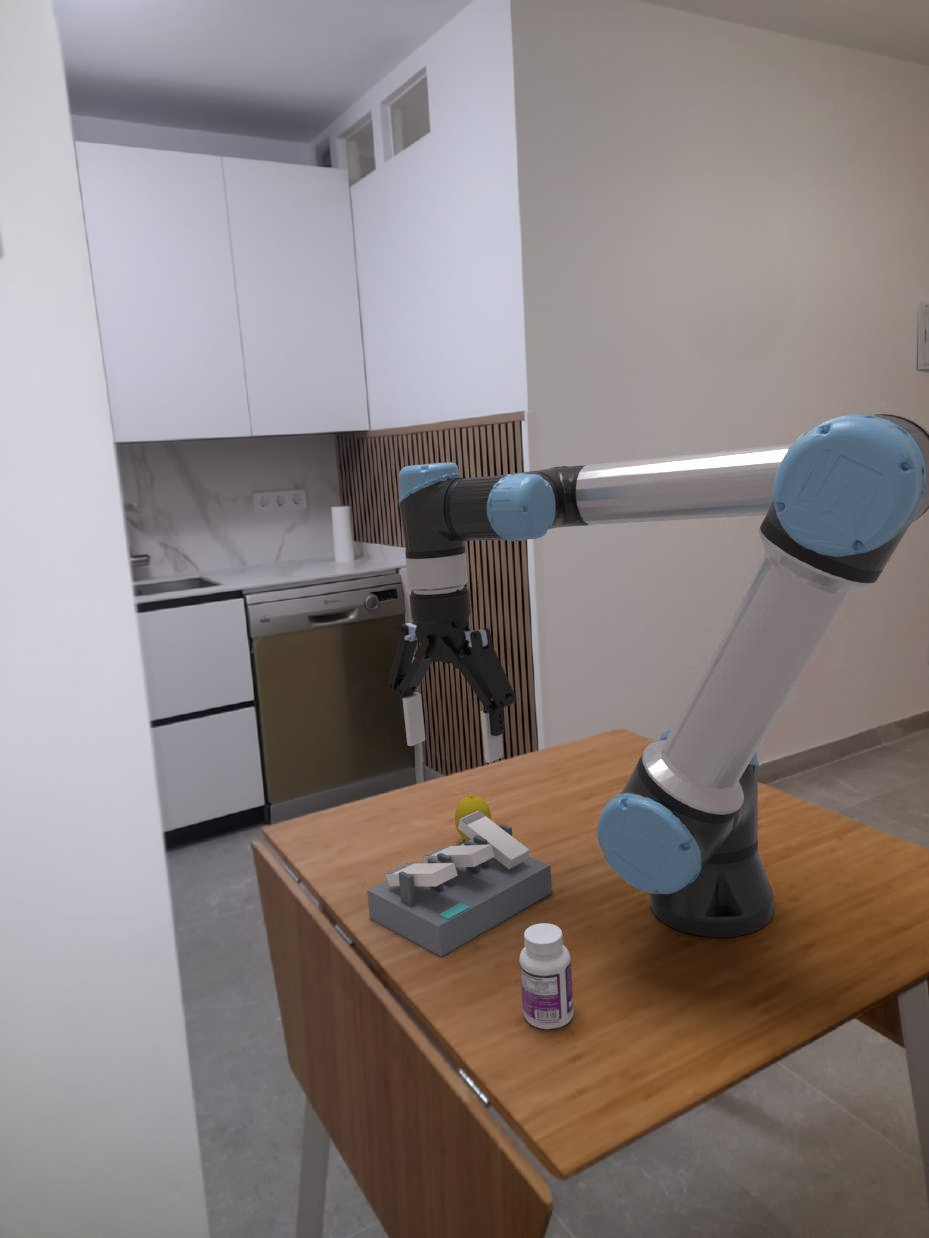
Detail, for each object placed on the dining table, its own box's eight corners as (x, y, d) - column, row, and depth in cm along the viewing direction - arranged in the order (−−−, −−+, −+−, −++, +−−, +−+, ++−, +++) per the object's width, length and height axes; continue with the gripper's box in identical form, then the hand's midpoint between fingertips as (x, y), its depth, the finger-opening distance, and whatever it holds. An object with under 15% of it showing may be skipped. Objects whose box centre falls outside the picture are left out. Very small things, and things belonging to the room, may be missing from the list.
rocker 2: (495, 855, 116) (492, 843, 116) (473, 867, 114) (469, 854, 114) (447, 857, 124) (444, 845, 124) (425, 868, 121) (422, 855, 121)
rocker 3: (528, 858, 122) (530, 848, 121) (508, 869, 119) (510, 859, 118) (477, 819, 128) (479, 809, 127) (457, 829, 125) (458, 819, 125)
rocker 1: (458, 874, 112) (455, 861, 112) (434, 887, 109) (430, 873, 109) (411, 874, 120) (407, 862, 120) (387, 886, 117) (384, 873, 117)
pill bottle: (546, 993, 100) (541, 913, 98) (584, 1013, 96) (579, 930, 94) (512, 1016, 96) (506, 934, 94) (550, 1038, 92) (545, 952, 91)
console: (552, 892, 122) (548, 837, 120) (441, 956, 108) (436, 895, 107) (479, 862, 132) (475, 811, 130) (369, 918, 119) (364, 861, 117)
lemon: (489, 852, 135) (486, 801, 133) (453, 851, 136) (449, 801, 135) (496, 836, 140) (492, 787, 139) (461, 835, 141) (457, 787, 140)
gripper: (536, 587, 108) (549, 757, 112) (391, 580, 124) (406, 729, 128) (496, 598, 102) (510, 776, 106) (350, 590, 119) (367, 744, 123)
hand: (453, 751), depth 117 cm, fingers open, 13 cm apart
